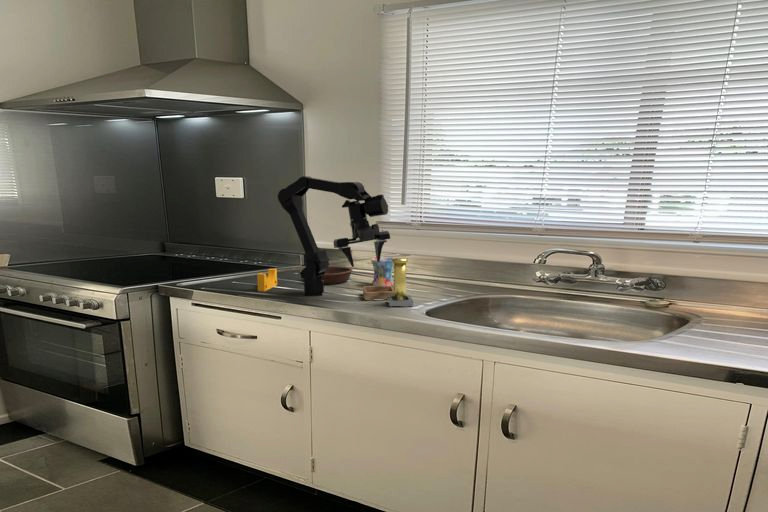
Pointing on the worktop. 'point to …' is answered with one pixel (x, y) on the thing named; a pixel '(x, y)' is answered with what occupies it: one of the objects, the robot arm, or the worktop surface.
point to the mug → (383, 271)
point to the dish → (336, 275)
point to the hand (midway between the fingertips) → (365, 264)
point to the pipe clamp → (267, 280)
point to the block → (400, 301)
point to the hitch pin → (400, 278)
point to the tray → (377, 292)
